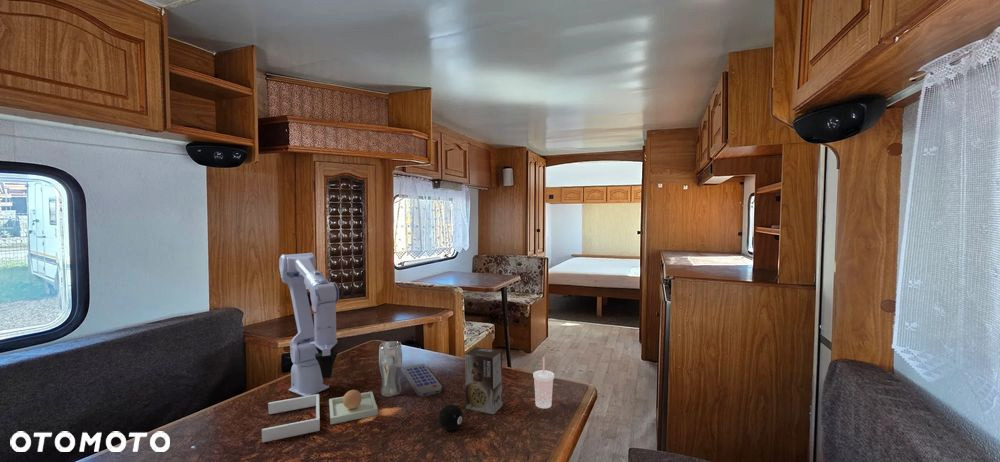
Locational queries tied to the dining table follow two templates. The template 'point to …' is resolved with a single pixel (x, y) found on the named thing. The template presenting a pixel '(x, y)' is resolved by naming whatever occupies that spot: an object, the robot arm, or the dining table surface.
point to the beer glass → (390, 367)
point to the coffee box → (483, 380)
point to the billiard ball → (450, 417)
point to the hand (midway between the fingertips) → (326, 372)
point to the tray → (344, 414)
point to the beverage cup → (543, 387)
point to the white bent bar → (296, 427)
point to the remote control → (422, 380)
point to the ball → (352, 399)
